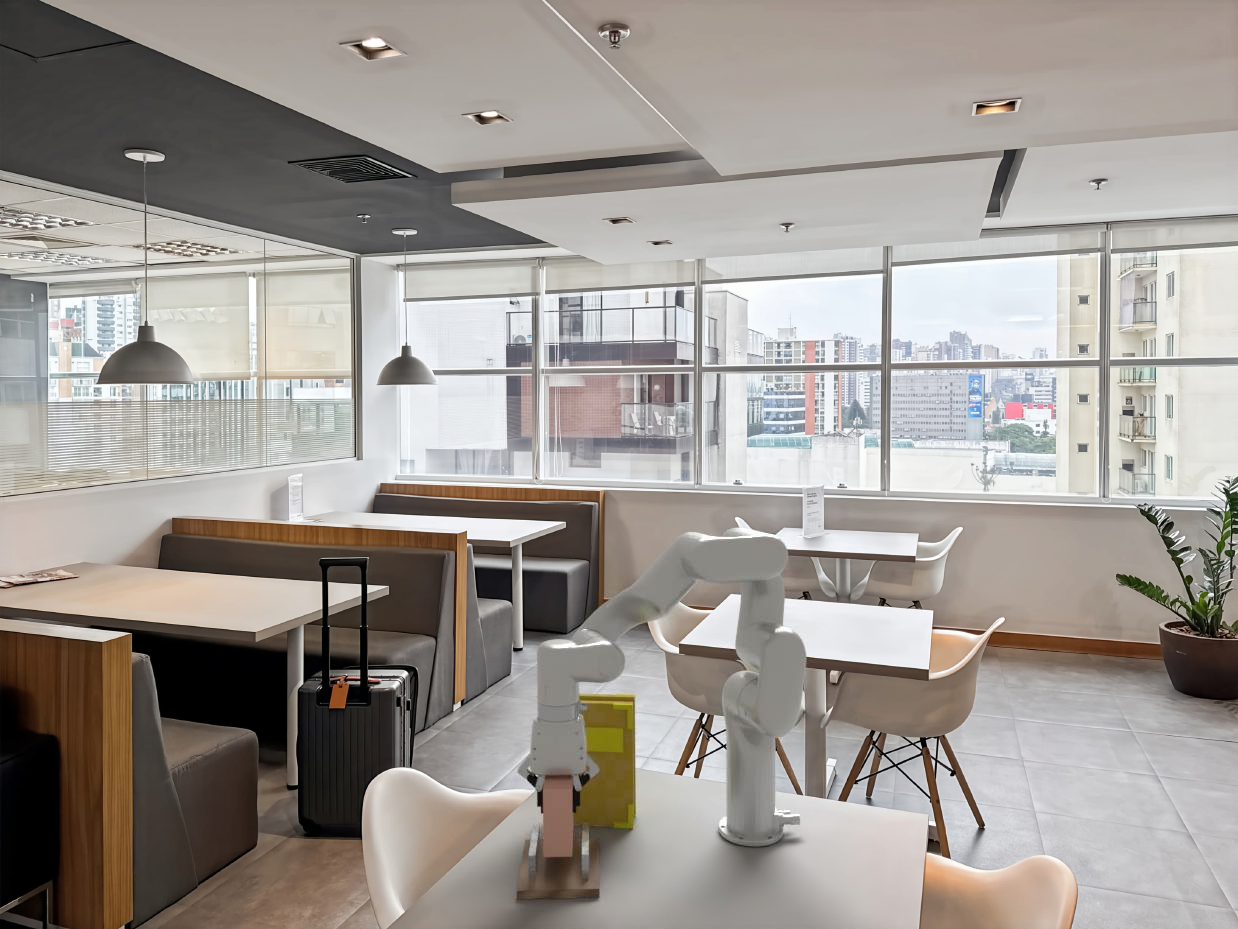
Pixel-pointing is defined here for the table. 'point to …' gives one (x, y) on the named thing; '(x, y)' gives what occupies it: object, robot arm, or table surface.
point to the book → (609, 761)
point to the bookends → (535, 850)
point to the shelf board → (560, 874)
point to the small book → (558, 816)
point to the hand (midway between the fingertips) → (558, 808)
